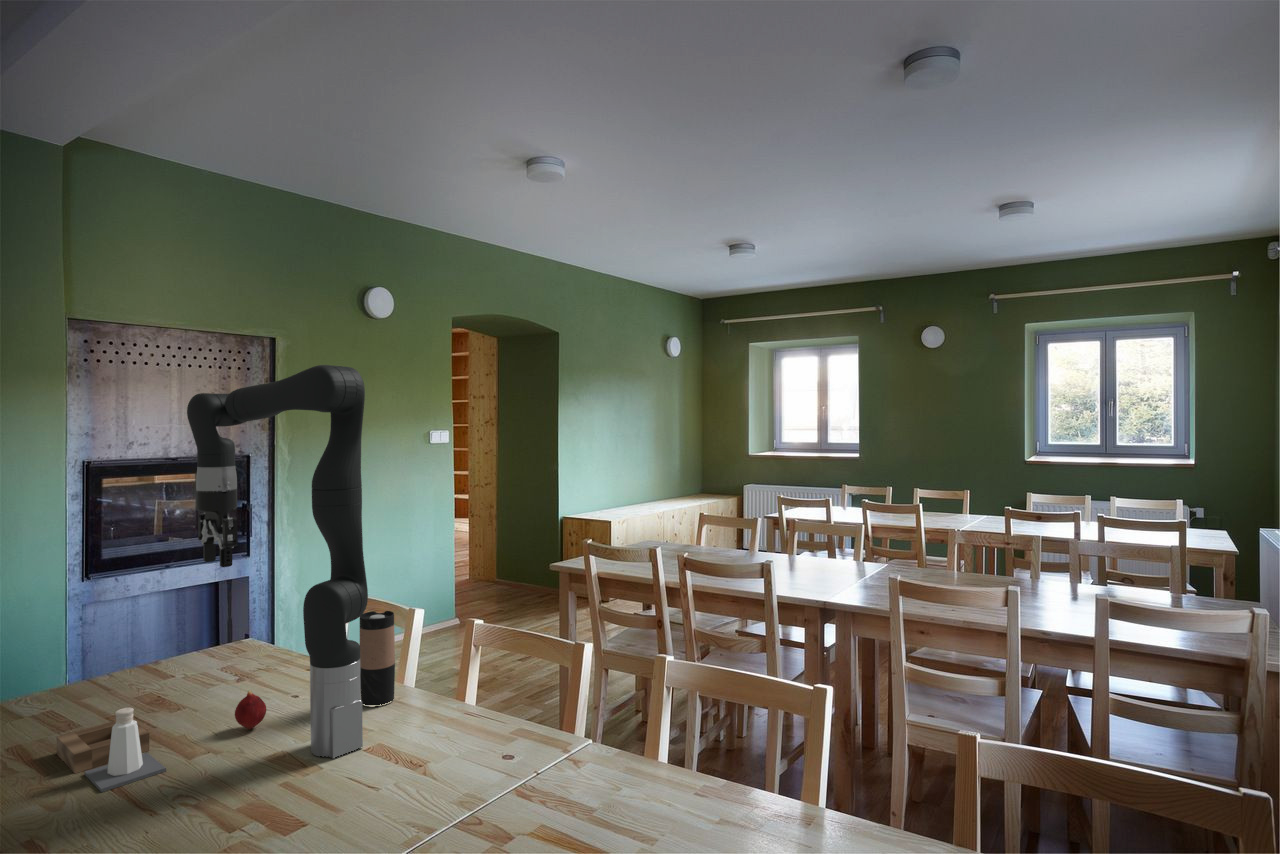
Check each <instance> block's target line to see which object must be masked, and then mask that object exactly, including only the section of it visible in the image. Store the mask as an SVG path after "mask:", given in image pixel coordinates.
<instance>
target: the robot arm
mask: <svg viewBox="0 0 1280 854" xmlns="http://www.w3.org/2000/svg"><path fill="white" fill-rule="evenodd" d="M365 389H366V388H365V384H364V380H363V377H362V375H361V373H359V371H358V370H357V369H355V368H353V367H350V366H343V365H340V366H339V365H328V364H318V365H315V366H311V367H309V368H306V369H304V370H302V371H300V372H297V373H294V374H293V375H290V376H288V377H286V378H282V379H279V380H275V381H272V382H268V383H267V382H266V383H259V384H256V385H250V386H245V387H241V388H237V389H234V390H232V391H231V392H230V393H212V392H211V393H209V392H207V393H206V392H205V393H204V392H203V393H202V392H200V393H196V394H195V395H193V396H192V397H191V399H190V400H189V402H188V405H187V407H186V414H187V415H186V416H187V420H188V423H189V426H190V429H191V432H192V436H193V439H194V440H193V441H194V443H195V445H196V459H197V460H196V462H197V463H196V464H197V467H196V468H197V470H196V478H195V491H196V492H195V493H196V494H195V495H196V497H195V498H196V499H195V503H196V505H195V506H196V507H195V508H196V510H197V511H198V512H199V513H198V514H197V515H198V517H197V518H198V521H197V527H198V528H197V529H198V531H197V539H198V541H201V545H203V547H202V549H203V552H202V553H203V554H202V555H203V561H204V562H206V563H211V562H215V561H216V559H217V557H216V556H217V554H216V552H217V550H216V549H217V548H216V547H217V546H216V545H217V544H218V546H219V547H218V548H219V566H220V568H228V567H231V566H233V549H234V547H238V544H239V542H238V540H239V538H238V519H237V517H236V516H235V517H232V516H231V517H230V511H233V510H236V509H237V508H238V478H237V477H238V475H237V470H236V468H237V467H236V444H235V442H234V441H233V440H232V439H230V438H227V437H222V436H220V434H219V431H218V429H217V427H233V426H234V427H235V426H238V425H239V426H240V425H241V424H244V423H248V422H252V421H258V420H263V419H267V418H268V419H269V418H272V417H274V416H277V415H280V414H281V413H282V412H283V413H284V412H287V411H296V410H297V411H312V412H313V411H315V412H320V413H330V432H329V436H328V437H329V438H328V441H327V445H326V447H325V448H324V451H323V452H322V455H321V457H320V459H319V461H318V463H317V465H316V467H315V470H314V472H313V476H312V478H311V509H312V516H313V518H314V522H315V524H316V526H317V528H318V530H319V532H320V533H321V535H322V537H323V539H324V540H325V544H327V547H328V551H329V557H330V579H328V580H326V581H325V580H324V581H322V582H319V583H317V584H314V585H313V586H311V587H310V588H309V589H308V591H306V594H305V596H304V599H303V611H302V614H303V630H304V644H305V649H306V652H307V654H308V655H309V689H310V690H309V693H310V694H309V695H310V696H309V697H310V698H309V699H310V701H309V702H310V704H309V705H310V706H309V707H310V708H309V709H310V711H309V712H310V713H309V715H310V716H309V717H310V753H311V754H312V753H313V754H312V755H314V756H317V757H320V756H322V758H331V757H332V758H331V759H336V758H335V757H337V756H339V757H341V756H340V755H342V756H344V755H343V754H345V753H347V754H349V753H348V752H350V753H352V752H351V751H353V752H355V751H357V750H356V749H358V748H361V747H363V745H364V744H363V741H364V740H363V732H364V731H363V729H364V728H363V705H362V701H361V684H360V643H359V642H357V641H355V640H353V639H352V640H351V639H348V636H347V627H346V626H347V625H346V624H348V623H350V622H353V621H355V620H357V619H360V616H361V615H362V614H364V613H365V610H366V609H367V606H368V602H369V601H368V600H369V594H368V593H369V592H368V591H369V590H368V589H369V588H368V581H367V573H366V567H365V559H364V558H365V557H364V545H363V544H364V543H363V540H364V539H363V538H364V537H363V488H362V487H363V485H362V435H363V423H364V422H363V421H364V412H365V410H364V409H365V400H366V399H365V398H366V397H365V396H366V390H365ZM216 542H217V544H216ZM361 749H362V748H361ZM354 750H355V751H354ZM358 750H359V749H358ZM345 755H346V754H345ZM324 756H326V757H324ZM328 756H329V757H328ZM337 758H338V757H337Z"/></svg>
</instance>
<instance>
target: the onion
mask: <svg viewBox="0 0 1280 854" xmlns="http://www.w3.org/2000/svg"><path fill="white" fill-rule="evenodd" d="M266 712H267V705H266V703H265V701H264V700H263V699H262V698H261V697H260V696H259V695H256V694H254V693H253V692H252V691H251V690H248V691H247V693H246V696H245V697H243V698H242V699H241V700H240V701H239V702H238V703H237V705H236V707H235V709H234V718H235V721H236V722H237V724H238V725H240V726H241V727H243V728H245V729H246V730H249V729H250V730H253V729H254V728H255V727H257V726H258V725H259V724H260V723H262V721H263V720H264V718H265V716H266Z"/></svg>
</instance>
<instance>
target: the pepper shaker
mask: <svg viewBox="0 0 1280 854" xmlns="http://www.w3.org/2000/svg"><path fill="white" fill-rule="evenodd" d="M114 714H115V721H116V724H115V725H114V726H113V727H112V734H111V744H110V753H109V762H108V763H107V764H108V772H107V773H108V774H110V775H113V776H120V775H127V774H130V773H132V772H135V771H137V770H139V769H140V767H141V766H142V765H143V760H142V754H143V753H141V746H140V739H139V732H138V725H139V724H138V721H136V720H135V719H134V708H133V707H123V708H120V709H118V710H116V711H115V712H114ZM137 724H138V725H137Z"/></svg>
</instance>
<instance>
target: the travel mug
mask: <svg viewBox="0 0 1280 854" xmlns="http://www.w3.org/2000/svg"><path fill="white" fill-rule="evenodd" d="M395 640H396V639H395V613H394V612H393V611H391V610H385V611H384V612H376V611H375V610H374V611H373V610H372V611H367V612H364V613H363V614H362V615H361V616H360V617H359V645H360V684H361V701H362V704H365V705H380V704H381V705H382V704H385V703H388V702H390V701H392V700H393V699H394V700H395V682H396V681H395V680H396V679H395V678H396V677H395V676H396V650H395V648H396V646H395Z"/></svg>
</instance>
